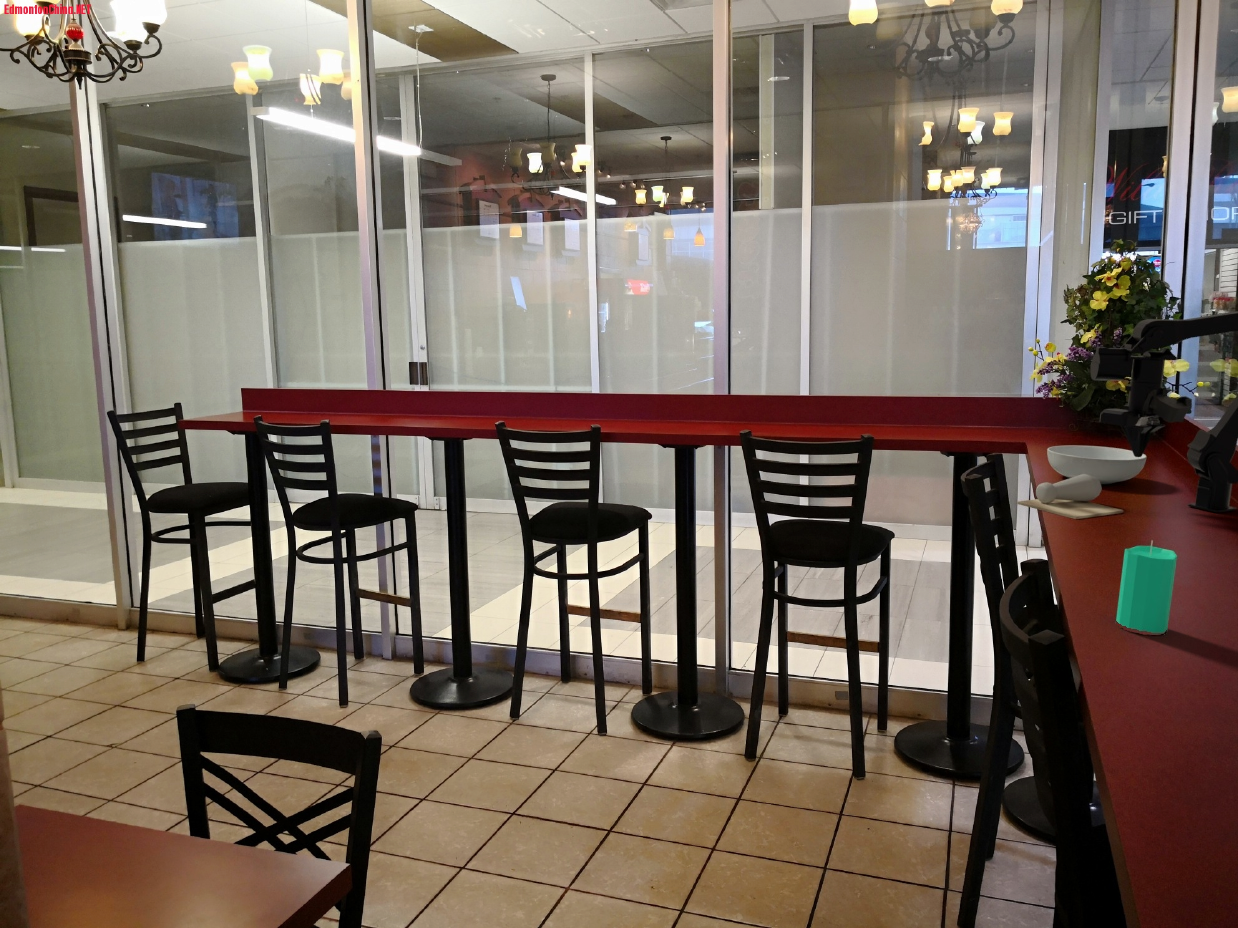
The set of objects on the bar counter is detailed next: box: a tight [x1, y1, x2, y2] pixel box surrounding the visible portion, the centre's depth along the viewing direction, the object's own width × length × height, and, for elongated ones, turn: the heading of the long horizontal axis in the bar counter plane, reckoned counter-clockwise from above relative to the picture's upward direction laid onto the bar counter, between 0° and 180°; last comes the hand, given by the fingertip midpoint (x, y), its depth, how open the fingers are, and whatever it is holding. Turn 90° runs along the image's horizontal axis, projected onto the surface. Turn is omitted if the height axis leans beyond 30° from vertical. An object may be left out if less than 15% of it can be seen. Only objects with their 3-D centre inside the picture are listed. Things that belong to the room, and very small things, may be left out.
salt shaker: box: [1035, 474, 1102, 504], centre depth 199 cm, size 6×6×13 cm
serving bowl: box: [1046, 445, 1147, 485], centre depth 226 cm, size 21×21×7 cm
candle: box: [1115, 539, 1178, 633], centre depth 127 cm, size 6×6×12 cm
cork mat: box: [1016, 498, 1124, 520], centre depth 197 cm, size 14×14×1 cm
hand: (1137, 456), depth 200 cm, fingers closed
